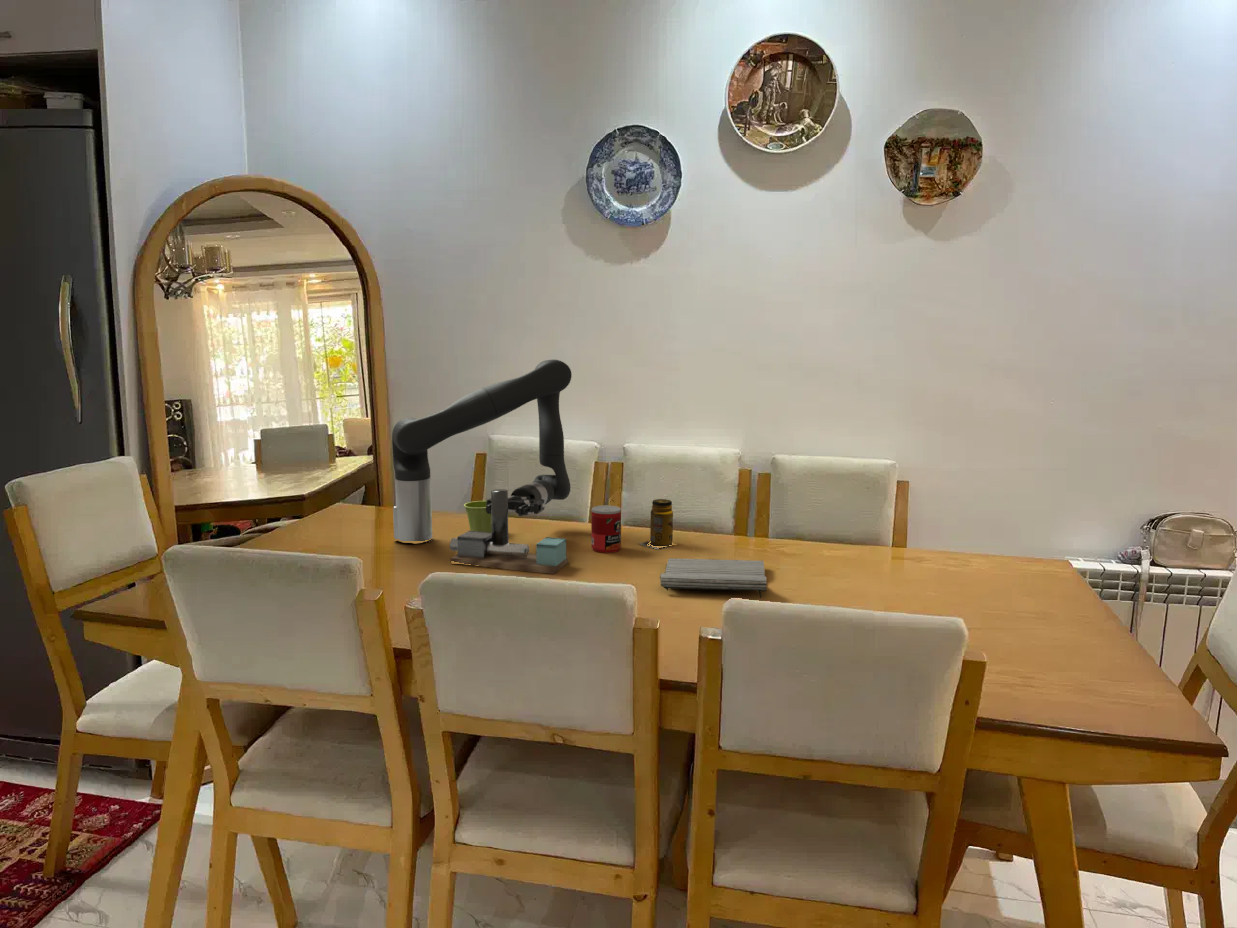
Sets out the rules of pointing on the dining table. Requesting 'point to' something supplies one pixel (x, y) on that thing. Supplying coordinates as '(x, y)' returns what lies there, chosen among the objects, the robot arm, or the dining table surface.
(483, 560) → the board
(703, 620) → the dining table surface
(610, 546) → the canned food
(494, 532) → the slide bolt
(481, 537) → the sleeve
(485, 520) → the plant pot
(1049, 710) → the dining table surface
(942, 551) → the dining table surface
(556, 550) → the socket block
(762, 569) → the mat
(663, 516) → the condiment
